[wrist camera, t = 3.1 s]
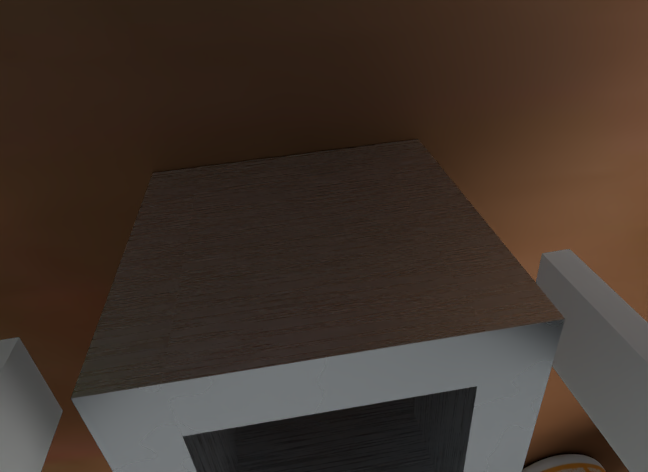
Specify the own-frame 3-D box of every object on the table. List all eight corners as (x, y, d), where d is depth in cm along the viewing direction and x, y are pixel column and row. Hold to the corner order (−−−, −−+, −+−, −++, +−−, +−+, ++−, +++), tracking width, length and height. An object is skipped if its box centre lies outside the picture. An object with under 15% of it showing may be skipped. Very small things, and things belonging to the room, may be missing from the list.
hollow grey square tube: (152, 173, 12) (70, 398, 6) (418, 139, 13) (565, 319, 7) (209, 359, 16) (190, 605, 10) (410, 327, 17) (500, 543, 11)
